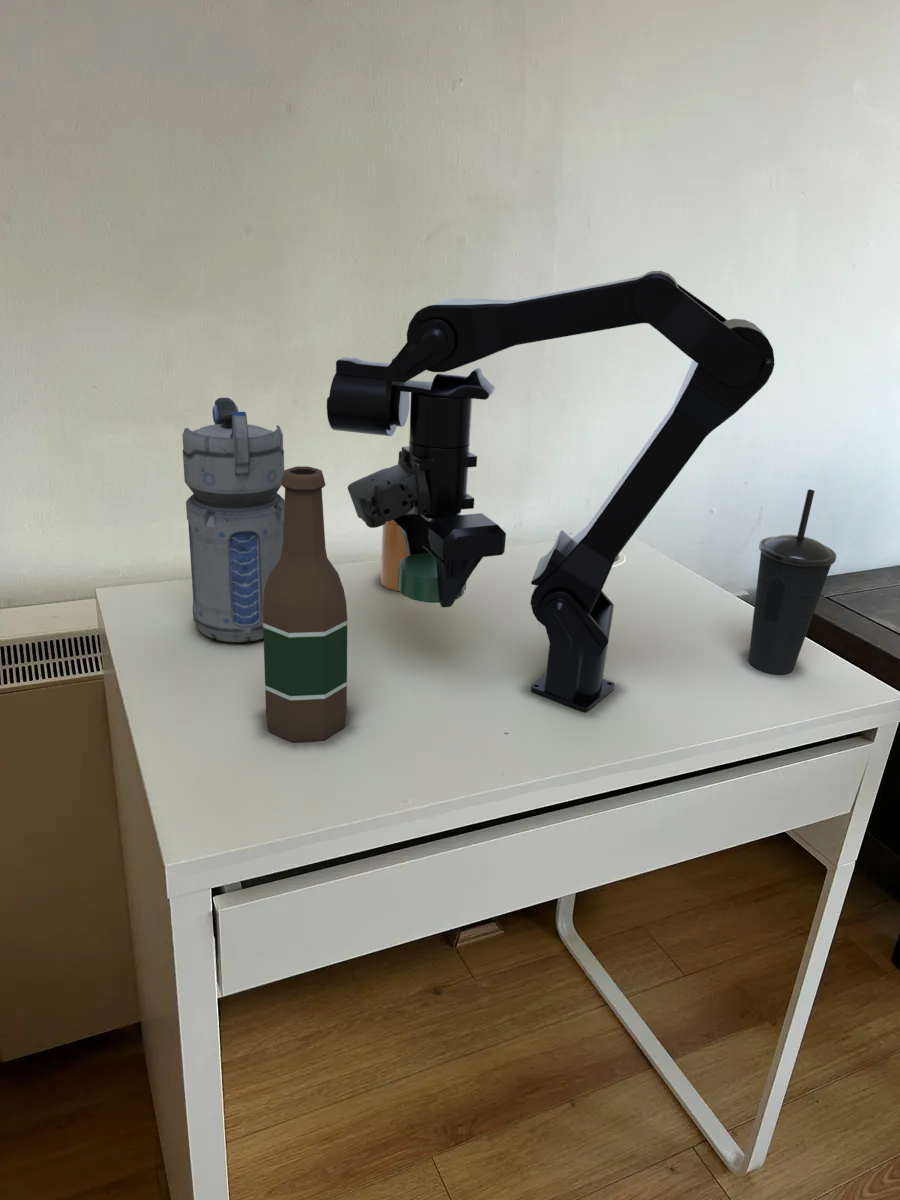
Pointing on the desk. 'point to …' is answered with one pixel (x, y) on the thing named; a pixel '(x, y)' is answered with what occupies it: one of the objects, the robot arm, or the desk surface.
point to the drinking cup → (787, 596)
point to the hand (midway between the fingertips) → (432, 592)
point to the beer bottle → (304, 622)
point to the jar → (392, 554)
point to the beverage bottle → (233, 520)
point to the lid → (420, 578)
